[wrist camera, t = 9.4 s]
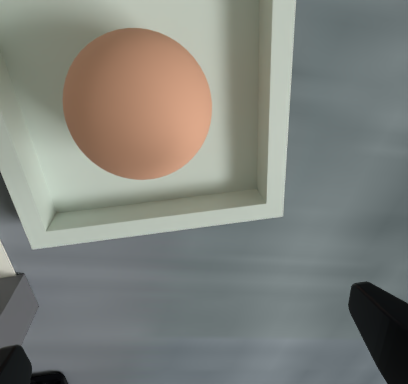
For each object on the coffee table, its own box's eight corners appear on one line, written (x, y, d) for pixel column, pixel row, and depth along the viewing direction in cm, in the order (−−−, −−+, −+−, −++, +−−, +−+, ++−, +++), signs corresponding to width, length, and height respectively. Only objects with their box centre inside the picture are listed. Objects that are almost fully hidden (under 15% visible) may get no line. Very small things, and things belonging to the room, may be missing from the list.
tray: (269, 196, 20) (282, 216, 18) (47, 224, 19) (32, 249, 16) (278, -83, 13) (302, -107, 11) (-59, -68, 12) (-108, -91, 10)
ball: (205, 146, 17) (228, 194, 12) (95, 158, 17) (69, 215, 11) (196, 25, 14) (222, 17, 9) (65, 34, 14) (11, 32, 8)
